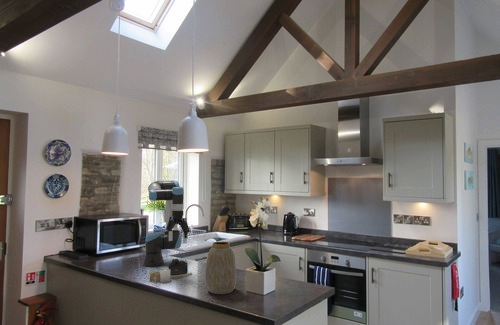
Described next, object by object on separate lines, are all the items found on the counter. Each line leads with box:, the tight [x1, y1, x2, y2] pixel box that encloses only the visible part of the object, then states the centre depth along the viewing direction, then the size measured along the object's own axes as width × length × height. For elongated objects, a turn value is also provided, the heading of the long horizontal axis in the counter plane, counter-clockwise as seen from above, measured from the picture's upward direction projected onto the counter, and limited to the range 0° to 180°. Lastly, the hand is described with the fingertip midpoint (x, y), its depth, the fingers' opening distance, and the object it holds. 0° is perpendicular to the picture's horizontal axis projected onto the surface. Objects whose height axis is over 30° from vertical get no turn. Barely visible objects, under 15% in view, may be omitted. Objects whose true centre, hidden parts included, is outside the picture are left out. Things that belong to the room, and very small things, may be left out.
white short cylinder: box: [159, 268, 171, 284], centre depth 226 cm, size 6×6×7 cm
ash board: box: [170, 271, 193, 280], centre depth 240 cm, size 12×15×1 cm
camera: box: [167, 258, 189, 275], centre depth 240 cm, size 13×10×10 cm
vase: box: [205, 241, 237, 295], centre depth 207 cm, size 17×17×27 cm
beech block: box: [148, 271, 160, 283], centre depth 228 cm, size 5×5×5 cm
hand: (177, 241), depth 244 cm, fingers open, 13 cm apart
